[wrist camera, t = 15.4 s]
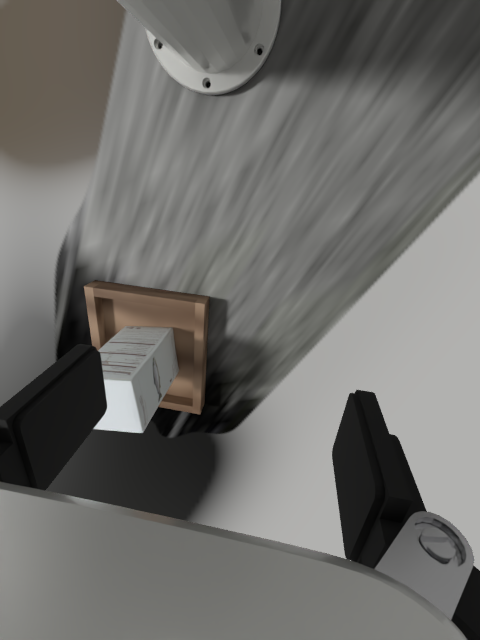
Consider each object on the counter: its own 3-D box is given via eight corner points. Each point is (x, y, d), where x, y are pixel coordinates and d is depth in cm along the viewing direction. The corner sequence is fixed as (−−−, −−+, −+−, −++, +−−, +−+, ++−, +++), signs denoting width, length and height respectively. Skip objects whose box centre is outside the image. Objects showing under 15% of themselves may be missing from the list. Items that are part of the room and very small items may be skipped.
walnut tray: (95, 280, 43) (84, 286, 40) (209, 296, 41) (204, 303, 39) (108, 386, 51) (99, 396, 48) (204, 403, 49) (200, 414, 47)
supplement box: (180, 371, 46) (143, 436, 35) (133, 367, 47) (83, 429, 36) (174, 325, 43) (132, 381, 32) (124, 323, 44) (65, 376, 33)
